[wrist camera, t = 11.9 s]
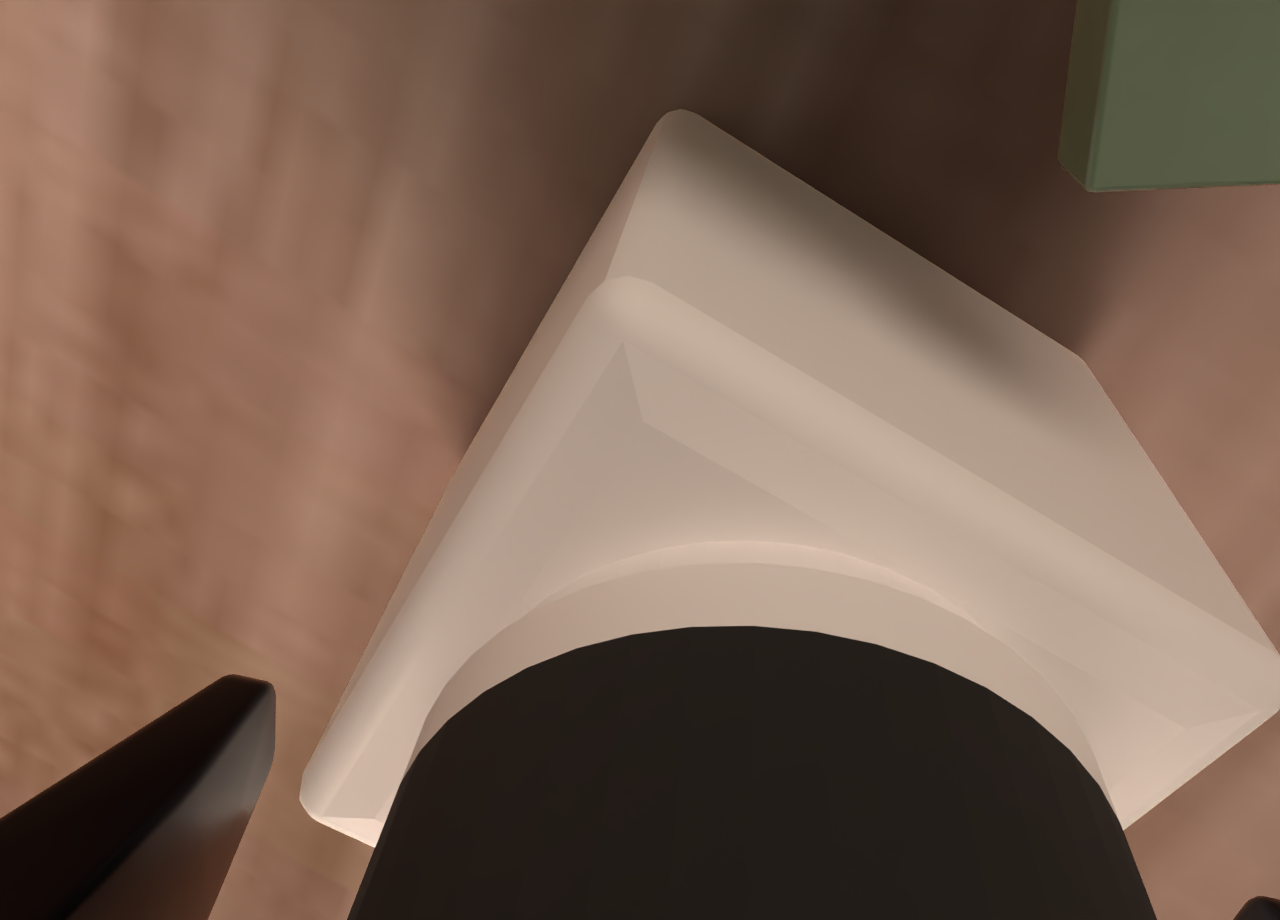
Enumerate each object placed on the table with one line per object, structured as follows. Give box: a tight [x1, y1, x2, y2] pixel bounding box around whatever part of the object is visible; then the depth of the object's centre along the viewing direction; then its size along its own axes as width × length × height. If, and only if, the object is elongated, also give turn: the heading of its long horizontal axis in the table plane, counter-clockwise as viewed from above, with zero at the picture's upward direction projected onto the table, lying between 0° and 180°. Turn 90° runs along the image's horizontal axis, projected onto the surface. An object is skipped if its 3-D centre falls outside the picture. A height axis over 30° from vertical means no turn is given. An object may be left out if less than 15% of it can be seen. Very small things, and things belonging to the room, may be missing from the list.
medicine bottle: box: [299, 109, 1280, 920], centre depth 11 cm, size 7×7×12 cm
